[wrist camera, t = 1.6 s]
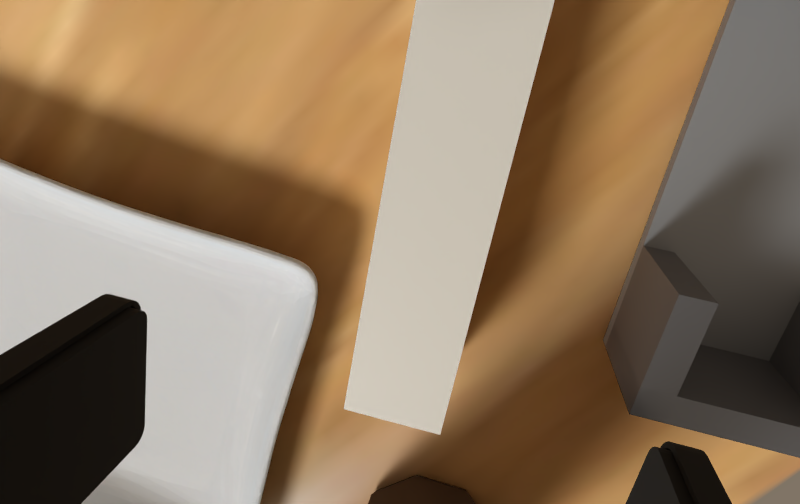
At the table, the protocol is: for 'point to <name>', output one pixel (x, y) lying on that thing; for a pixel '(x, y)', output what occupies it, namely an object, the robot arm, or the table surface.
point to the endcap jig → (724, 249)
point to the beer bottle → (420, 493)
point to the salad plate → (165, 331)
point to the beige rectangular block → (441, 200)
